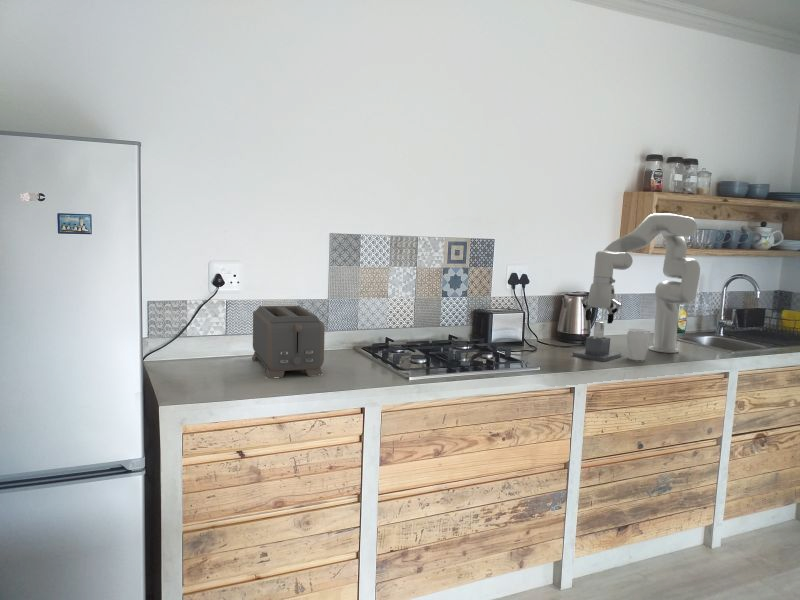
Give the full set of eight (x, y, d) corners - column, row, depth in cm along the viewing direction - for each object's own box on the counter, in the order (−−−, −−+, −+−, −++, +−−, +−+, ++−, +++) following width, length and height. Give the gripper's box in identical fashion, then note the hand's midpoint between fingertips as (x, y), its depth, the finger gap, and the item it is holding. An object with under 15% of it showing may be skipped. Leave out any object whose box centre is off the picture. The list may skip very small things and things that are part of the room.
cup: (649, 361, 268) (652, 333, 267) (626, 360, 270) (629, 331, 268) (645, 357, 277) (648, 329, 275) (623, 355, 279) (626, 328, 277)
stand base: (590, 351, 286) (592, 331, 285) (621, 356, 276) (622, 335, 275) (572, 355, 274) (574, 334, 273) (603, 361, 265) (605, 340, 264)
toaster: (269, 381, 212) (270, 319, 210) (251, 359, 244) (251, 305, 242) (326, 378, 220) (328, 318, 217) (301, 356, 252) (302, 304, 249)
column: (594, 351, 278) (597, 321, 276) (604, 352, 275) (606, 322, 273) (589, 352, 275) (592, 322, 273) (599, 354, 272) (602, 323, 270)
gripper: (626, 282, 268) (622, 324, 270) (587, 278, 280) (584, 318, 282) (618, 283, 263) (614, 325, 265) (579, 279, 274) (575, 319, 276)
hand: (598, 321), depth 273 cm, fingers open, 9 cm apart
